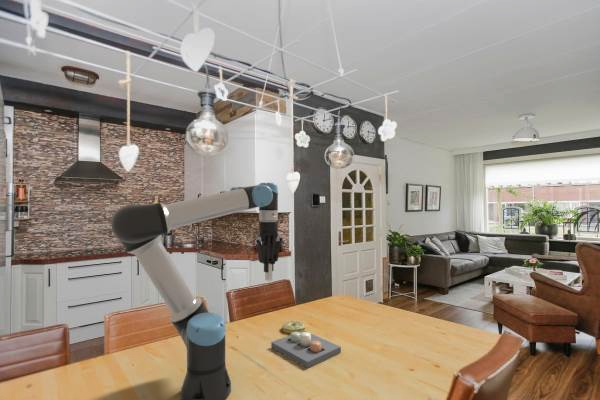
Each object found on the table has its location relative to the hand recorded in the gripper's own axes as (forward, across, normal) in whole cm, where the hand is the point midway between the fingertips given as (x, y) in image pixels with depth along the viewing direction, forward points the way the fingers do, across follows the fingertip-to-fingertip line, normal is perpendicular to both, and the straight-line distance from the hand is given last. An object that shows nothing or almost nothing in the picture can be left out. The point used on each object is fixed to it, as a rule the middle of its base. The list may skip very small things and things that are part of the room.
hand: (268, 279), depth 124 cm
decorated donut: (+30, +22, +11) cm, 39 cm away
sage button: (+28, +12, -3) cm, 31 cm away
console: (+29, +12, -8) cm, 33 cm away
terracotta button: (+28, +12, -15) cm, 34 cm away
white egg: (+26, +12, -9) cm, 30 cm away
